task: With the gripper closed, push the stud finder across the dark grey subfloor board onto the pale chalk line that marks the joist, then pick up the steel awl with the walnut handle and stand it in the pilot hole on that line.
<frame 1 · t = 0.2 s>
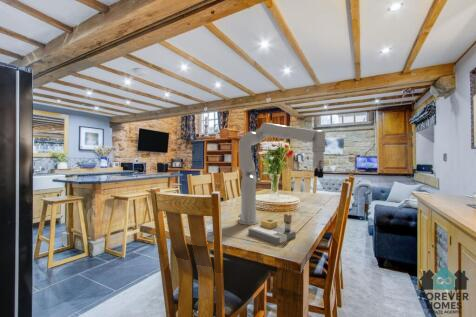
hand: (318, 177, 145), 31 cm above the table, tool pointing down, fingers open, 9 cm apart
stud finder: (269, 226, 133), point 3 cm above the table, touching subfloor board
awl: (287, 231, 124), point 3 cm above the table, touching subfloor board
subfloor board: (271, 235, 126), on the table
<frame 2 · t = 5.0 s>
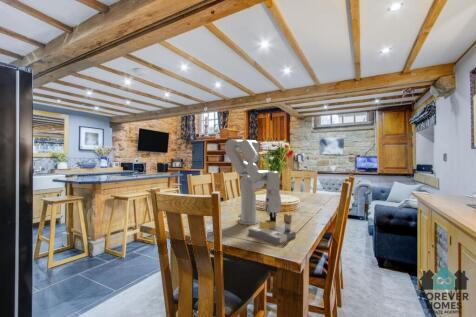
hand: (272, 223, 135), 4 cm above the table, tool pointing down, fingers closed
stud finder: (267, 226, 131), point 3 cm above the table, touching gripper
everything else where it was.
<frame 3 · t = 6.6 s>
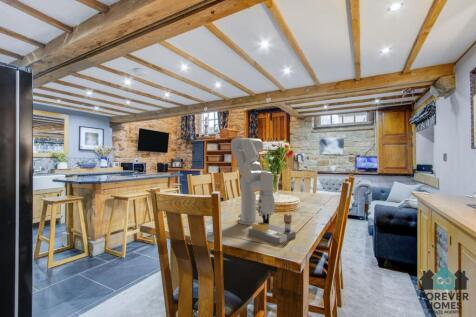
hand: (265, 225, 131), 4 cm above the table, tool pointing down, fingers closed
stud finder: (260, 229, 127), point 3 cm above the table, touching gripper, subfloor board
everything else where it was.
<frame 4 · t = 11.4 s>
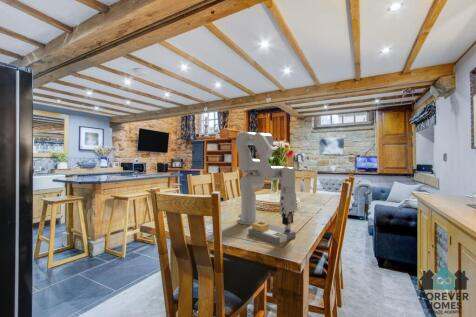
hand: (287, 223, 124), 7 cm above the table, tool pointing down, fingers closed on awl, 4 cm apart
stud finder: (260, 229, 127), point 3 cm above the table, touching subfloor board
awl: (287, 231, 124), point 3 cm above the table, touching gripper, subfloor board
when the fingers open (6 cm above the table, at t = 17.0 s): awl drops 1 cm, resting in subfloor board.
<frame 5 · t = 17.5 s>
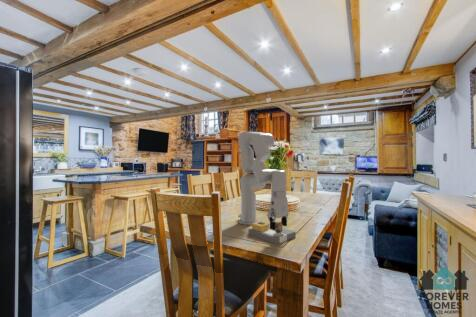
hand: (278, 227, 118), 7 cm above the table, tool pointing down, fingers open, 9 cm apart
awl: (278, 240, 118), resting in subfloor board
everything else where it was.
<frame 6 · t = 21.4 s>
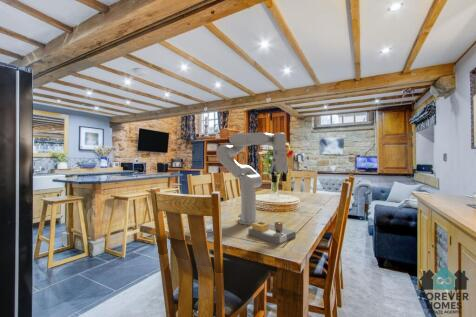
hand: (279, 181, 138), 28 cm above the table, tool pointing down, fingers open, 9 cm apart
nothing on the table moved.
at the end: stud finder 0.4 cm from the target spot, point 3.0 cm above the table; awl 0.0 cm from the target spot, resting in subfloor board; awl tilted 0° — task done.
